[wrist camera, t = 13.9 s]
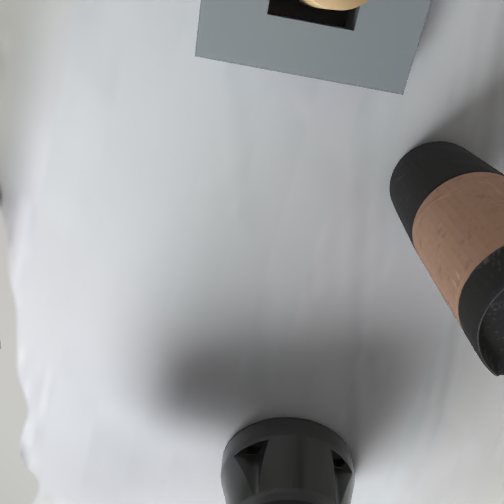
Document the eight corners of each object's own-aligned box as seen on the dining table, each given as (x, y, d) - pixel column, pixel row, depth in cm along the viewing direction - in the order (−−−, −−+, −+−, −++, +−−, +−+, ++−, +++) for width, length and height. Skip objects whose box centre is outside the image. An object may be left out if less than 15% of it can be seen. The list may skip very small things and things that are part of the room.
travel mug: (460, 119, 38) (627, 225, 20) (493, 198, 41) (663, 352, 23) (370, 167, 40) (449, 302, 22) (407, 239, 43) (503, 410, 25)
